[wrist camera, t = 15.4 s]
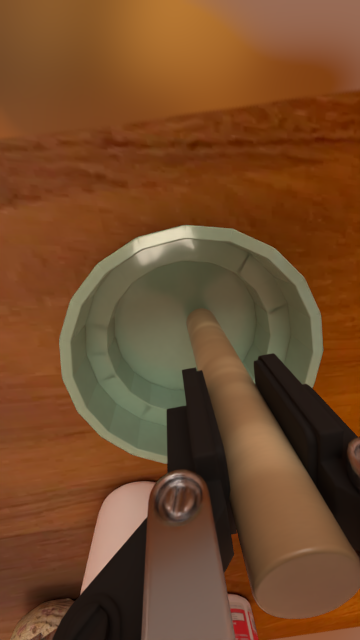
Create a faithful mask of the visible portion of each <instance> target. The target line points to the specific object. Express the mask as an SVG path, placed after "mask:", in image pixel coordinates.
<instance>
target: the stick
mask: <svg viewBox="0 0 360 640" xmlns="http://www.w3.org/2000/svg"><path fill="white" fill-rule="evenodd" d="M186 325H187V329H188V333H189V337H190V342H191V346H192V350H193V354H194V358H195V362H196V366H197V370H198V371H200V370H202V371H203V375H204V378H205V382H206V385H207V389H208V393H209V396H210V400H211V403H212V407H213V410H214V414H215V418H216V421H217V425H218V428H219V432H220V436H221V439H222V443H223V447H224V451H225V456H226V462H227V469H228V476H229V483H230V496H229V499H230V504H231V508H232V513H233V517H234V521H235V525H236V529H237V533H238V537H239V541H240V545H241V549H242V553H243V557H244V561H245V565H246V570H247V574H248V578H249V582H250V586H251V590H252V594H253V597H254V599H255V601H256V603H257V604H258V606H259V607H260V608H261V609H262V610H263V611H265V612H266V613H268V614H270V615H273V616H276V617H280V618H289V619H300V618H309V617H314V616H318V615H321V614H324V613H327V612H329V611H332V610H334V609H336V608H337V607H339V606H341V605H342V604H344V603H345V602H347V601H348V600H349V599H350V598H351V597H352V596H353V595H354V594H355V593H356V592H357V591H358V589H359V588H360V560H359V558H358V556H357V554H356V553H355V551H354V549H353V548H352V546H351V544H350V543H349V541H348V539H347V538H346V536H345V534H344V533H343V531H342V529H341V528H340V526H339V524H338V523H337V521H336V519H335V518H334V516H333V514H332V513H331V511H330V509H329V507H328V506H327V504H326V502H325V501H324V499H323V497H322V496H321V494H320V492H319V491H318V489H317V487H316V486H315V484H314V482H313V481H312V479H311V477H310V476H309V474H308V472H307V471H306V469H305V467H304V466H303V464H302V462H301V461H300V459H299V457H298V455H297V454H296V452H295V450H294V449H293V447H292V445H291V444H290V442H289V440H288V439H287V437H286V435H285V434H284V432H283V430H282V429H281V427H280V425H279V424H278V422H277V420H276V419H275V417H274V415H273V414H272V412H271V410H270V408H269V407H268V405H267V403H266V402H265V400H264V398H263V397H262V395H261V393H260V392H259V390H258V388H257V387H256V385H255V383H254V382H253V380H252V378H251V377H250V375H249V373H248V372H247V370H246V368H245V367H244V365H243V363H242V361H241V360H240V358H239V356H238V355H237V353H236V351H235V350H234V348H233V346H232V345H231V343H230V341H229V340H228V338H227V336H226V335H225V333H224V331H223V330H222V328H221V326H220V325H219V323H218V321H217V320H216V318H215V316H214V315H213V313H212V312H211V311H209V310H207V309H204V308H199V309H196V310H194V311H192V312H191V313H190V314H189V315H188V317H187V321H186Z"/></svg>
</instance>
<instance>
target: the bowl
mask: <svg viewBox="0 0 360 640" xmlns="http://www.w3.org/2000/svg"><path fill="white" fill-rule="evenodd" d="M199 308H204V309H207V310H209V311H211V312H212V313H213V315H214V316H215V318H216V320H217V321H218V323H219V325H220V326H221V328H222V330H223V331H224V333H225V335H226V336H227V338H228V340H229V341H230V343H231V345H232V346H233V348H234V350H235V351H236V353H237V355H238V356H239V358H240V360H241V361H242V363H243V365H244V367H245V368H246V370H247V372H248V373H249V375H250V377H251V378H252V380H253V382H254V383H255V375H254V361H255V360H258V356H261V355H267V354H272V353H274V354H275V355H276V356H277V357H278V358H279V359H280V360H281V361H282V362H283V364H284V365H285V366H286V367H287V368H288V369H289V370H290V371H291V372H292V374H293V375H294V376H295V377H296V378H297V379H298V380H299V381H300V382H301V384H308V385H309V386H310V387H311V388H313V386H314V383H315V379H316V375H317V372H318V368H319V365H320V361H321V357H322V354H323V339H322V323H321V314H320V311H319V309H318V307H317V304H316V302H315V300H314V298H313V295H312V293H311V291H310V289H309V287H308V284H307V282H306V280H305V278H304V277H303V276H302V275H301V274H300V273H299V272H298V271H297V270H296V269H295V268H294V267H293V266H292V265H291V264H290V263H289V262H288V261H287V260H286V259H285V258H284V257H283V256H282V255H281V254H280V253H279V252H278V251H277V250H276V249H275V248H273V247H272V246H270V245H268V244H265V243H263V242H261V241H259V240H256V239H254V238H252V237H250V236H248V235H245V234H243V233H241V232H239V231H237V230H234V229H230V228H218V227H205V226H193V225H182V226H177V227H174V228H170V229H166V230H162V231H158V232H154V233H150V234H147V235H143V236H139V237H137V238H135V239H133V240H132V241H130V242H129V243H127V244H126V245H124V246H123V247H121V248H120V249H118V250H117V251H115V252H114V253H112V254H111V255H109V256H108V257H106V258H105V259H103V260H102V261H100V262H99V263H98V264H97V265H96V266H95V267H94V268H93V270H92V271H91V272H90V274H89V275H88V277H87V278H86V279H85V281H84V282H83V283H82V285H81V286H80V287H79V289H78V290H77V291H76V293H75V294H74V295H73V297H72V298H71V300H70V303H69V306H68V310H67V313H66V317H65V320H64V324H63V327H62V330H61V334H60V337H59V346H60V359H61V371H62V379H63V381H64V384H65V386H66V388H67V390H68V392H69V394H70V397H71V399H72V401H73V403H74V405H75V408H76V410H77V411H78V413H79V414H80V415H81V416H82V417H83V418H84V419H85V420H86V421H87V422H88V423H89V425H90V426H91V427H92V428H93V429H94V430H95V431H96V432H97V433H98V434H99V435H100V436H101V437H102V438H104V439H105V440H107V441H109V442H111V443H112V444H114V445H116V446H118V447H119V448H121V449H123V450H125V451H126V452H128V453H130V454H132V455H134V456H138V457H142V458H146V459H150V460H153V461H157V462H161V463H165V464H166V463H167V414H166V413H167V409H169V408H175V407H180V406H186V398H185V391H184V383H183V376H182V370H184V369H189V368H195V367H196V370H197V366H196V362H195V358H194V354H193V350H192V346H191V342H190V337H189V333H188V329H187V325H186V321H187V317H188V315H189V314H190V313H191V312H192V311H194V310H196V309H199ZM197 371H198V370H197Z"/></svg>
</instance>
